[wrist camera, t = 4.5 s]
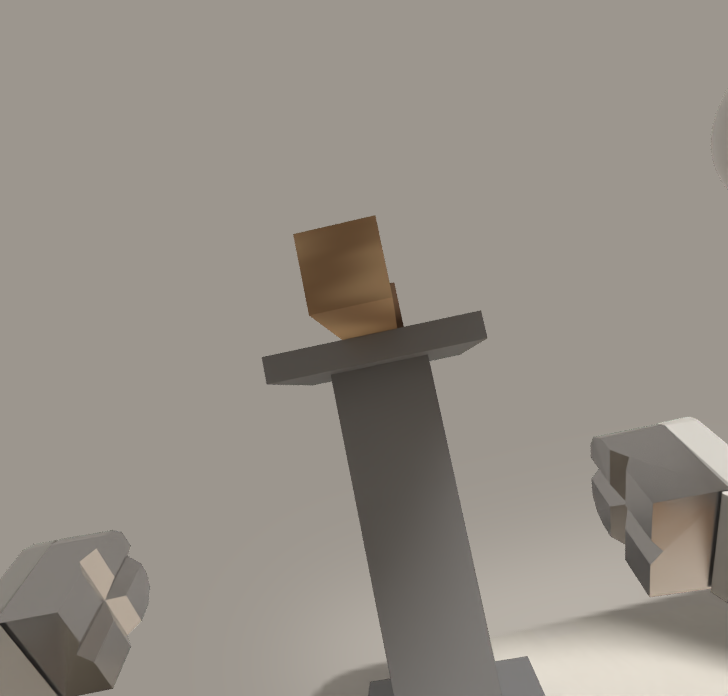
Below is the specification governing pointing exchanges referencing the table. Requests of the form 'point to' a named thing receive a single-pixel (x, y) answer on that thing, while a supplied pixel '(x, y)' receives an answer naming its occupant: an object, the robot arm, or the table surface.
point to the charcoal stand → (411, 506)
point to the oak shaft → (348, 279)
